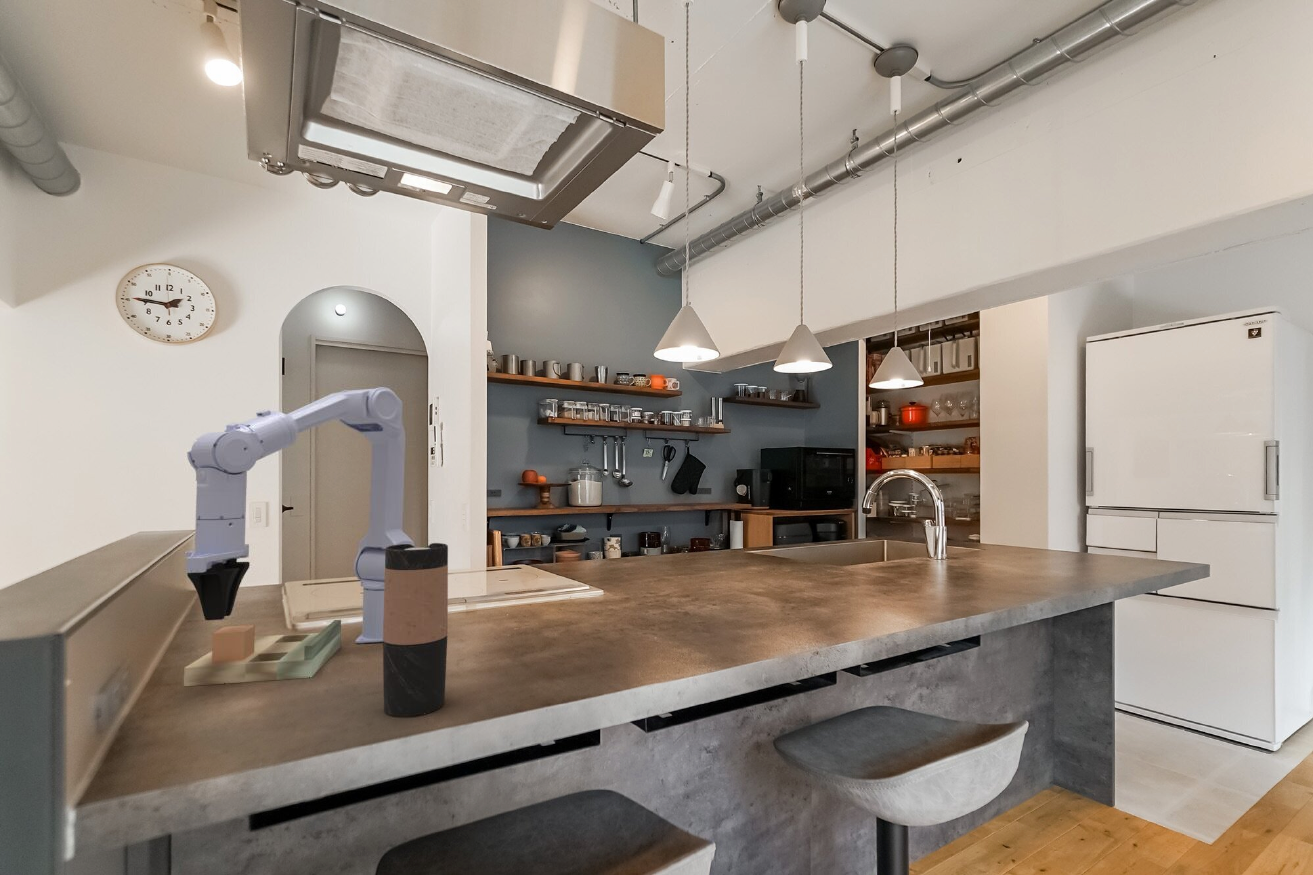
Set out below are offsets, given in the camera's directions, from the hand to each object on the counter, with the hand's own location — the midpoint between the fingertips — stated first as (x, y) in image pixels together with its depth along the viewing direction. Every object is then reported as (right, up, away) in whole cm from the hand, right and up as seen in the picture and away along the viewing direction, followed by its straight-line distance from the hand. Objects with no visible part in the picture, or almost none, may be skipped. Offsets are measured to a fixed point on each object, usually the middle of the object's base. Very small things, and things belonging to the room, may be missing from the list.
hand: (218, 617), depth 87 cm
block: (-1, -7, +5) cm, 9 cm away
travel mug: (+30, -9, -7) cm, 32 cm away
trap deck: (+1, -10, +10) cm, 14 cm away
